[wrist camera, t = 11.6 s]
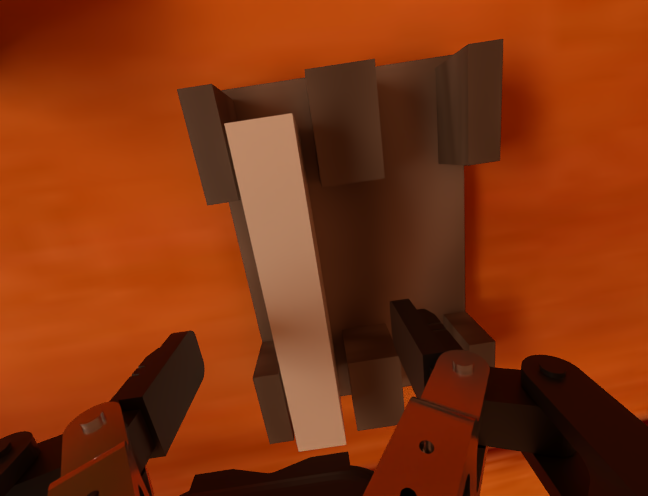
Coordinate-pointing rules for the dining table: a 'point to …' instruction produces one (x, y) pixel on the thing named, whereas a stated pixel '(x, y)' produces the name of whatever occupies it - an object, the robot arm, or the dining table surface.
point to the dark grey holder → (368, 205)
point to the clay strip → (289, 272)
